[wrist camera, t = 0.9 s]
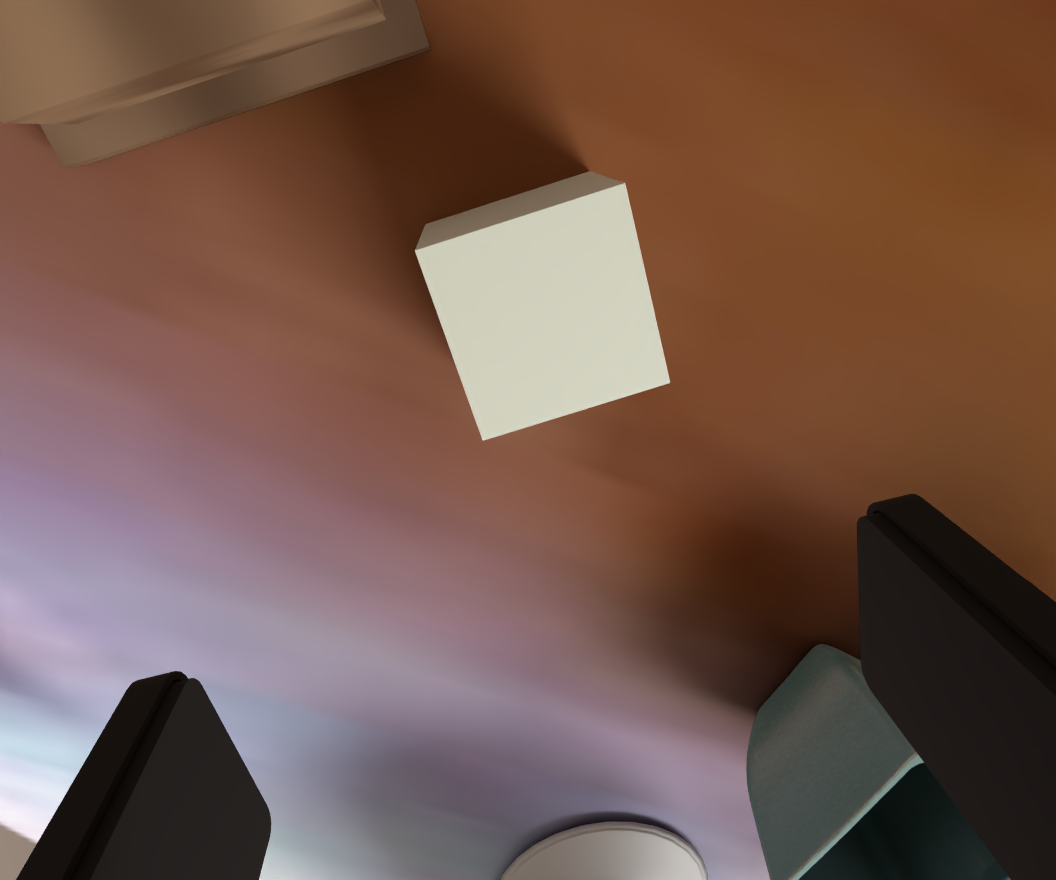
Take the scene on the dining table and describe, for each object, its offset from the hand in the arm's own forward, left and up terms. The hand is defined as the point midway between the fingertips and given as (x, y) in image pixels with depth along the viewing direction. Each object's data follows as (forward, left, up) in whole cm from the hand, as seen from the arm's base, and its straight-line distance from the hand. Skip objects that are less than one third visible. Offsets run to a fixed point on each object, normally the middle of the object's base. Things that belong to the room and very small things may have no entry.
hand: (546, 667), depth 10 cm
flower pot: (-10, +23, -18) cm, 31 cm away
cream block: (-2, -1, -18) cm, 18 cm away
